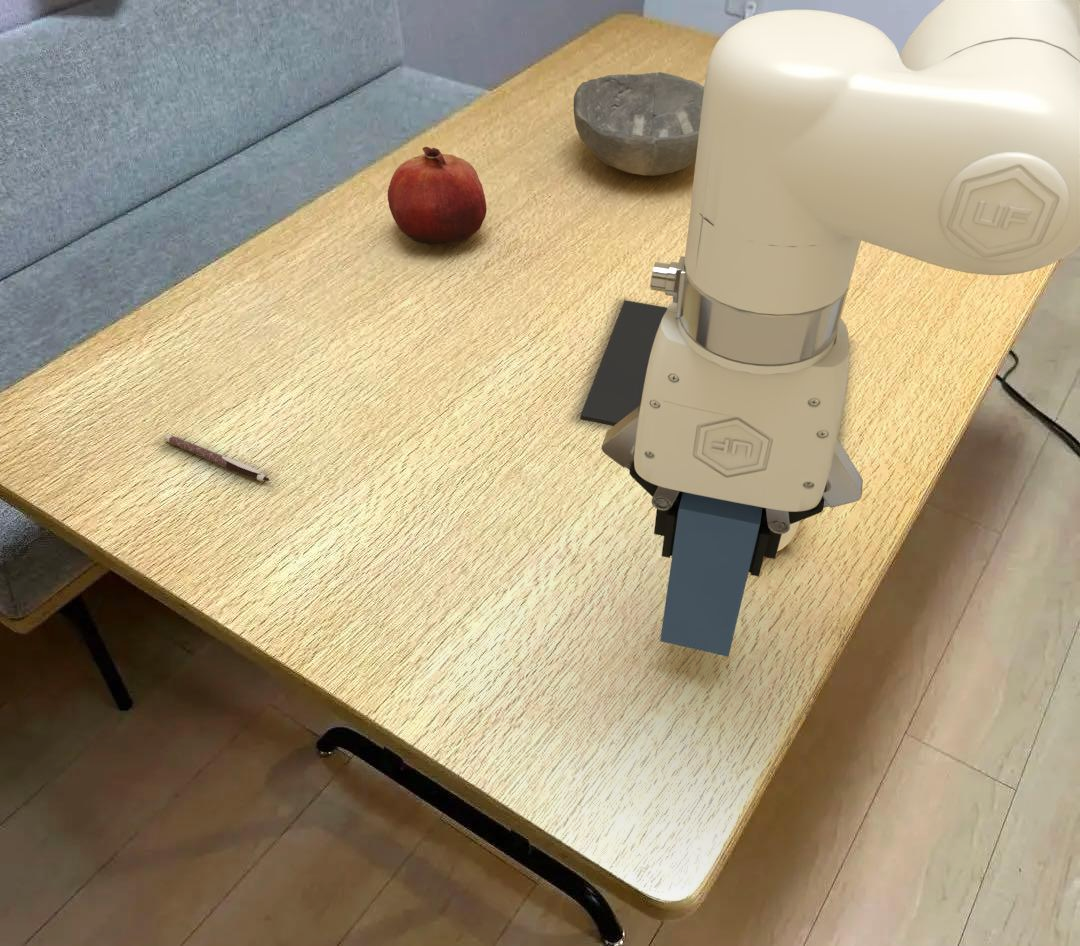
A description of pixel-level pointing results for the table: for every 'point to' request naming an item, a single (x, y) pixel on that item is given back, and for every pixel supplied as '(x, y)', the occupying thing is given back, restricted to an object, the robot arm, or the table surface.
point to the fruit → (437, 198)
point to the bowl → (640, 121)
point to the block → (708, 572)
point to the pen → (218, 458)
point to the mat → (624, 364)
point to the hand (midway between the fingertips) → (713, 547)
